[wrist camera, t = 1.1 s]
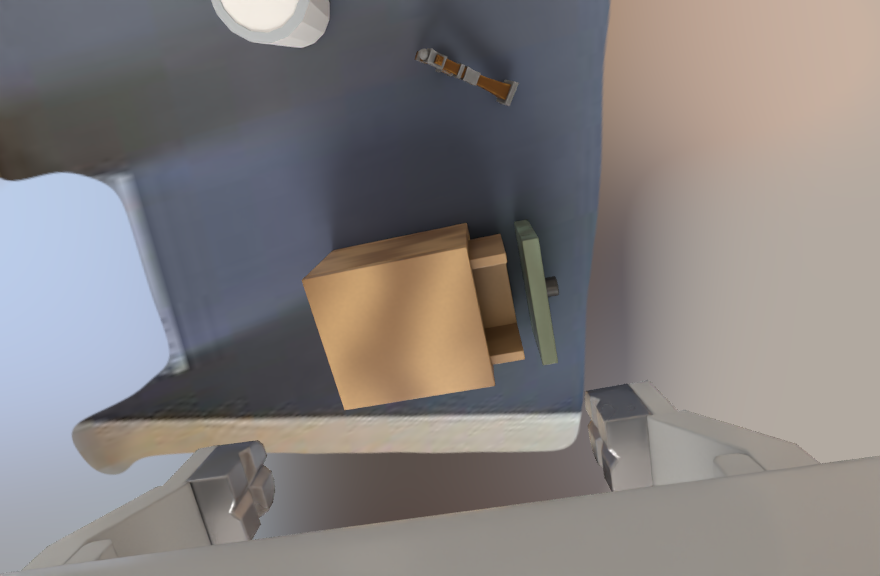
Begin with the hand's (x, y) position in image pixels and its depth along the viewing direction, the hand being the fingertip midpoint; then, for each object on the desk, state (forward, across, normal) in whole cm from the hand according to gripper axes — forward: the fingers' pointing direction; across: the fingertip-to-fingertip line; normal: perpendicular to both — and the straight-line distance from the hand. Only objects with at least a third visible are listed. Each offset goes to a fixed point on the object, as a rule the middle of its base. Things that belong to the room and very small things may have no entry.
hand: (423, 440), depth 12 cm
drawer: (+31, -2, +4) cm, 32 cm away
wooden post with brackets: (+31, -4, -13) cm, 34 cm away
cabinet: (+33, +4, +4) cm, 33 cm away
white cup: (+30, +8, -21) cm, 38 cm away
